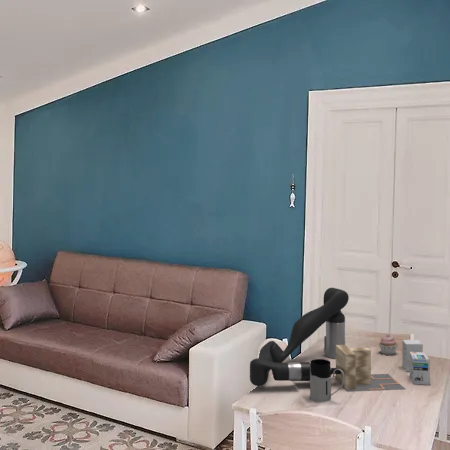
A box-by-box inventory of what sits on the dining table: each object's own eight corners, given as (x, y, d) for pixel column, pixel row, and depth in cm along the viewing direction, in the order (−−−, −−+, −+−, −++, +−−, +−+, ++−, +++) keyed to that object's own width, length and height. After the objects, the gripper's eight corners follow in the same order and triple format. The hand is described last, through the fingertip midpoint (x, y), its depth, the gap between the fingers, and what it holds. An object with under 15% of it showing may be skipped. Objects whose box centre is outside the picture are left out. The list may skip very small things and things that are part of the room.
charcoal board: (346, 394, 209) (346, 391, 209) (333, 378, 228) (333, 375, 228) (406, 391, 211) (406, 388, 211) (388, 376, 230) (388, 373, 230)
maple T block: (345, 389, 211) (345, 354, 211) (335, 377, 225) (335, 345, 225) (375, 388, 212) (375, 353, 212) (363, 376, 226) (363, 344, 226)
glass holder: (316, 394, 209) (316, 357, 208) (349, 403, 200) (349, 363, 199) (304, 401, 202) (304, 362, 201) (338, 410, 193) (338, 369, 192)
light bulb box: (430, 385, 218) (430, 359, 217) (412, 384, 219) (413, 358, 219) (425, 376, 228) (425, 351, 228) (409, 375, 230) (409, 351, 229)
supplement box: (418, 366, 242) (418, 339, 241) (423, 372, 234) (423, 343, 234) (401, 366, 242) (402, 339, 242) (405, 371, 235) (405, 343, 234)
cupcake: (376, 354, 261) (376, 334, 260) (380, 350, 269) (380, 330, 269) (396, 357, 257) (396, 336, 256) (399, 352, 265) (399, 332, 264)
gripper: (295, 375, 223) (335, 374, 224) (301, 386, 210) (344, 385, 211) (295, 357, 222) (336, 357, 224) (302, 367, 209) (345, 367, 211)
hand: (340, 370), depth 217 cm, fingers closed
